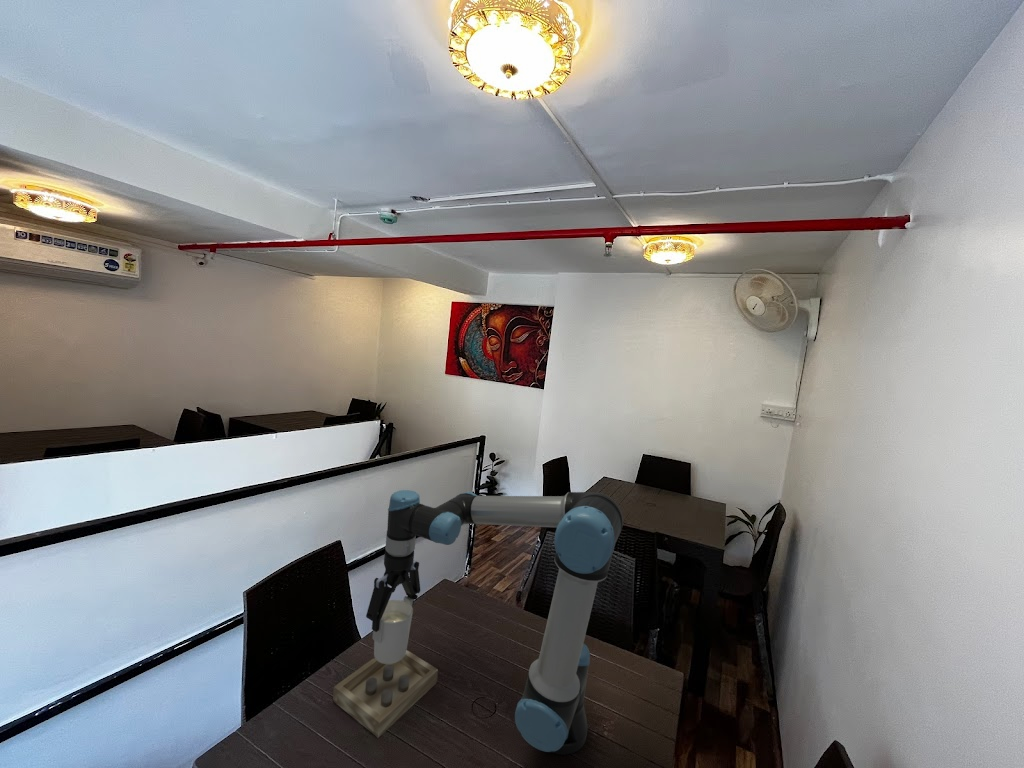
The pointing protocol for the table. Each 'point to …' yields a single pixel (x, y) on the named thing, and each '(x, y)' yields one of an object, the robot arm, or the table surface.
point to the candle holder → (394, 632)
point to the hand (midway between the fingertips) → (392, 630)
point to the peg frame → (384, 691)
